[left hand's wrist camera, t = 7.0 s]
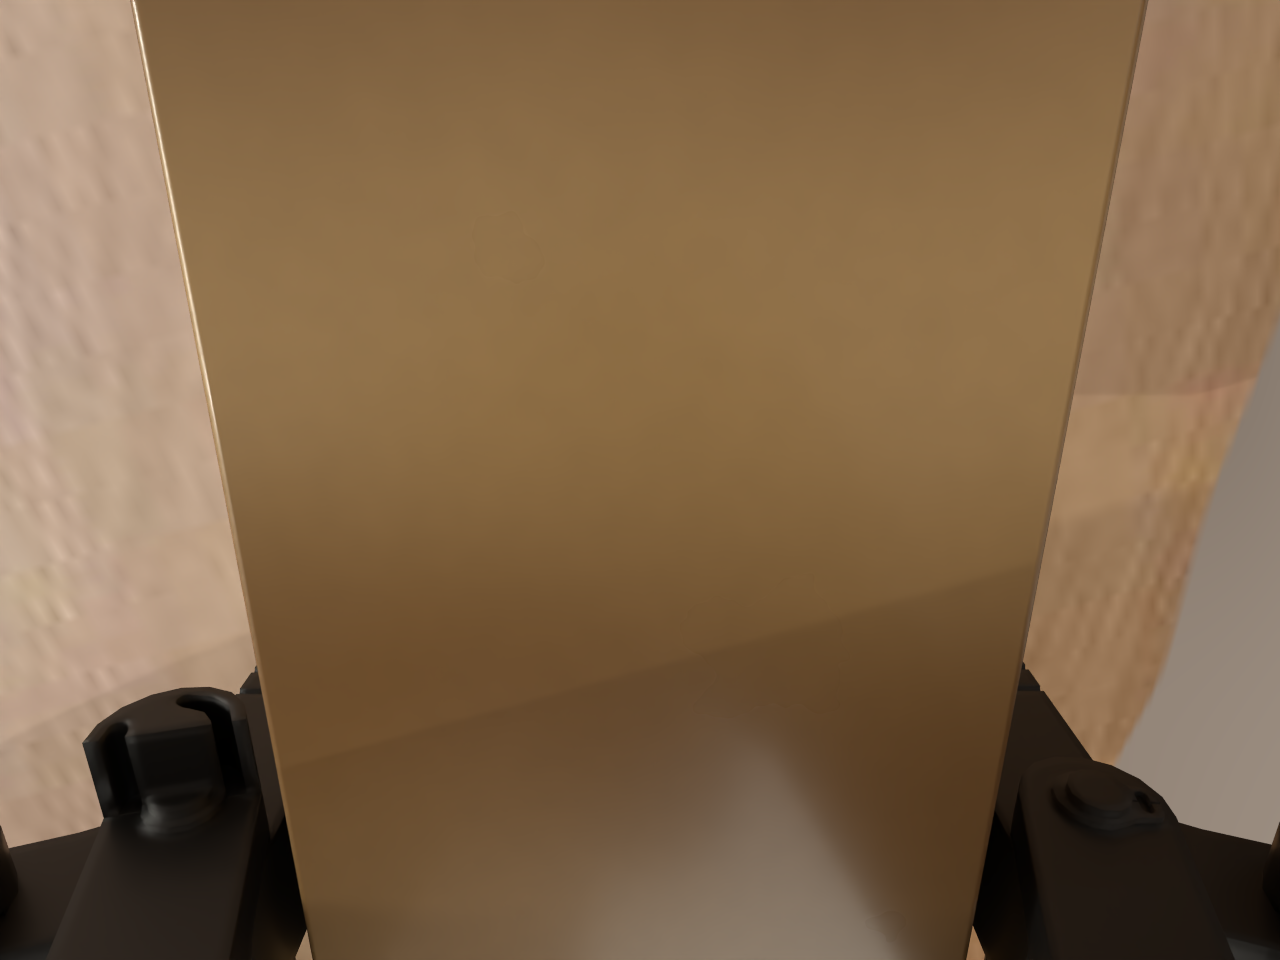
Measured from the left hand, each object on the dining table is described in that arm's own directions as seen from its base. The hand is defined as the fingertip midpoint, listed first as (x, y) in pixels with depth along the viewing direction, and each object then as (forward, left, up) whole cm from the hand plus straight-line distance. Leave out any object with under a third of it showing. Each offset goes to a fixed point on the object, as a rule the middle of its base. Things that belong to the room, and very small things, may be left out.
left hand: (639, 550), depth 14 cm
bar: (+7, +2, -1) cm, 7 cm away
